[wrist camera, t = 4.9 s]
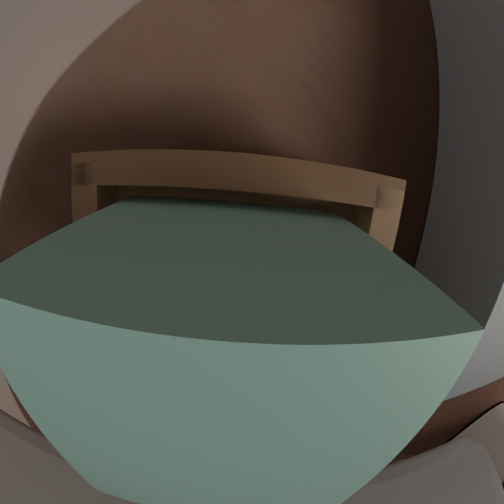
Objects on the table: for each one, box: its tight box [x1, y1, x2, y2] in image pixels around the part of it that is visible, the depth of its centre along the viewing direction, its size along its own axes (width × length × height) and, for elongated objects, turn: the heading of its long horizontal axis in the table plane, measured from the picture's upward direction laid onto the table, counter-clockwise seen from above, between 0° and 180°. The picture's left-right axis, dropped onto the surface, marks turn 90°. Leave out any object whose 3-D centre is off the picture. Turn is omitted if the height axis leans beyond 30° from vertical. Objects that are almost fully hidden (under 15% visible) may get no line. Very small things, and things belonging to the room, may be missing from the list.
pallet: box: [71, 149, 407, 251], centre depth 9 cm, size 16×6×5 cm, turn 174°
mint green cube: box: [0, 196, 485, 504], centre depth 4 cm, size 4×4×4 cm
